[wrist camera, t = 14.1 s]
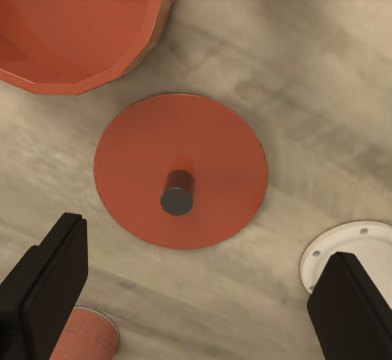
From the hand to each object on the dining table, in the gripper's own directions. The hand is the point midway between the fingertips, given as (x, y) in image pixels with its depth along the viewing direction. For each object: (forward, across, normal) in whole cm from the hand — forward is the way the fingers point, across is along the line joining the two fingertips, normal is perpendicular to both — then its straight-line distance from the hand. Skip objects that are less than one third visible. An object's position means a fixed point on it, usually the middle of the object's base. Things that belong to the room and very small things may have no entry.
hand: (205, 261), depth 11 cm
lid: (+18, +2, +6) cm, 19 cm away
